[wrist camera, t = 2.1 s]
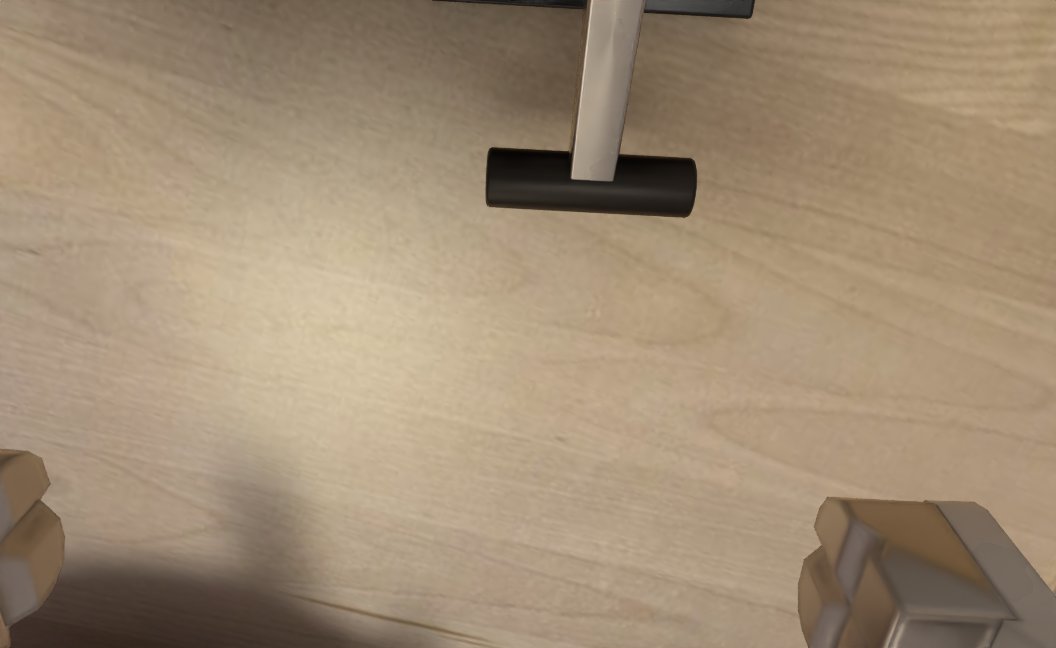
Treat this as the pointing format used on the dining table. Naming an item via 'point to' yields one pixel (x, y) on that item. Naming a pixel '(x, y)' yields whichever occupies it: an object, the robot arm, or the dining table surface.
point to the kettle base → (649, 6)
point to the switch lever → (596, 138)
